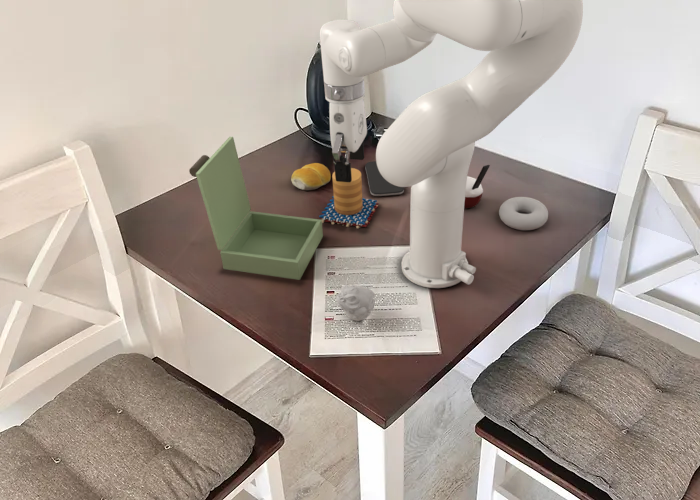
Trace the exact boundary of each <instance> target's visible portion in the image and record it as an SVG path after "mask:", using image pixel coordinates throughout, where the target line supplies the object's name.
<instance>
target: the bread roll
mask: <svg viewBox="0 0 700 500" xmlns="http://www.w3.org/2000/svg"><path fill="white" fill-rule="evenodd" d="M331 175H332V174H331V171H330V170H329V168H328V166H325V165H324V164H323V163H319V162H312V163H309V164H305V165H303V166H302V167H301V168H298V169H295V170H294V171H293V173H292V175H291V177H290V181H291V183H292V185H293V186H295V187H296V188H297V189H300V190H302V191H314V190H317V189H319V188H321V187H323V186H325V185H327V184H328V183H329V182H330V181H331V178H332V176H331Z"/></svg>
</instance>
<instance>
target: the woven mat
mask: <svg viewBox="0 0 700 500" xmlns="http://www.w3.org/2000/svg"><path fill="white" fill-rule="evenodd" d="M362 203H363V208H362V210H361V211H360V212H358V213H356V214H353V215H343V214H339V213H338V212H336V211H335V207H334V195H332V196H331V199H329V203H327V204H326V207H324V210H323V211H321V215H318V217H319V220H322V224H324V223H331V225H335V223H337V225H340V224H341V225H342V226H345V227H347V228H349V227H353V226H354V227H356V229H359V228H367V226H368V225H370V223H371V222H370V221H371V220H372V218H373V215H374V214H375V213H376V211H377V208H378V207H379V204H380V203H379V202H378V200H377V199H375V200H374V199H371V198H370V199H369V198H365V197H362Z"/></svg>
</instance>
